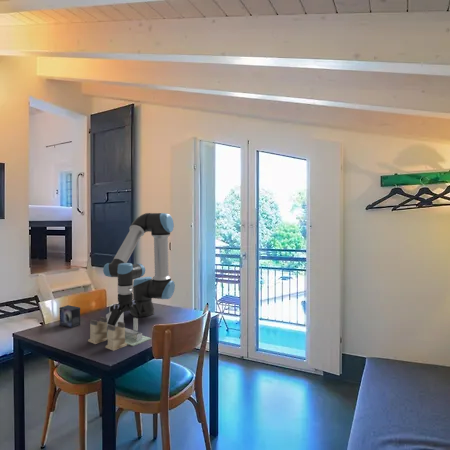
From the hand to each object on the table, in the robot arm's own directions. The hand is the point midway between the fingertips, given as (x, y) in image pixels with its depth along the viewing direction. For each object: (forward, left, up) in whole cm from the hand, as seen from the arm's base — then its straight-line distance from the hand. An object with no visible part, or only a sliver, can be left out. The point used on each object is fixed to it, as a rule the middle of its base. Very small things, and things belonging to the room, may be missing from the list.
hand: (125, 333), depth 183 cm
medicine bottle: (-9, -20, -2) cm, 22 cm away
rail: (0, 0, -1) cm, 1 cm away
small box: (+6, -41, -2) cm, 42 cm away
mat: (0, 0, -2) cm, 2 cm away
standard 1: (+11, -7, -2) cm, 13 cm away
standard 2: (+11, +7, -2) cm, 13 cm away
